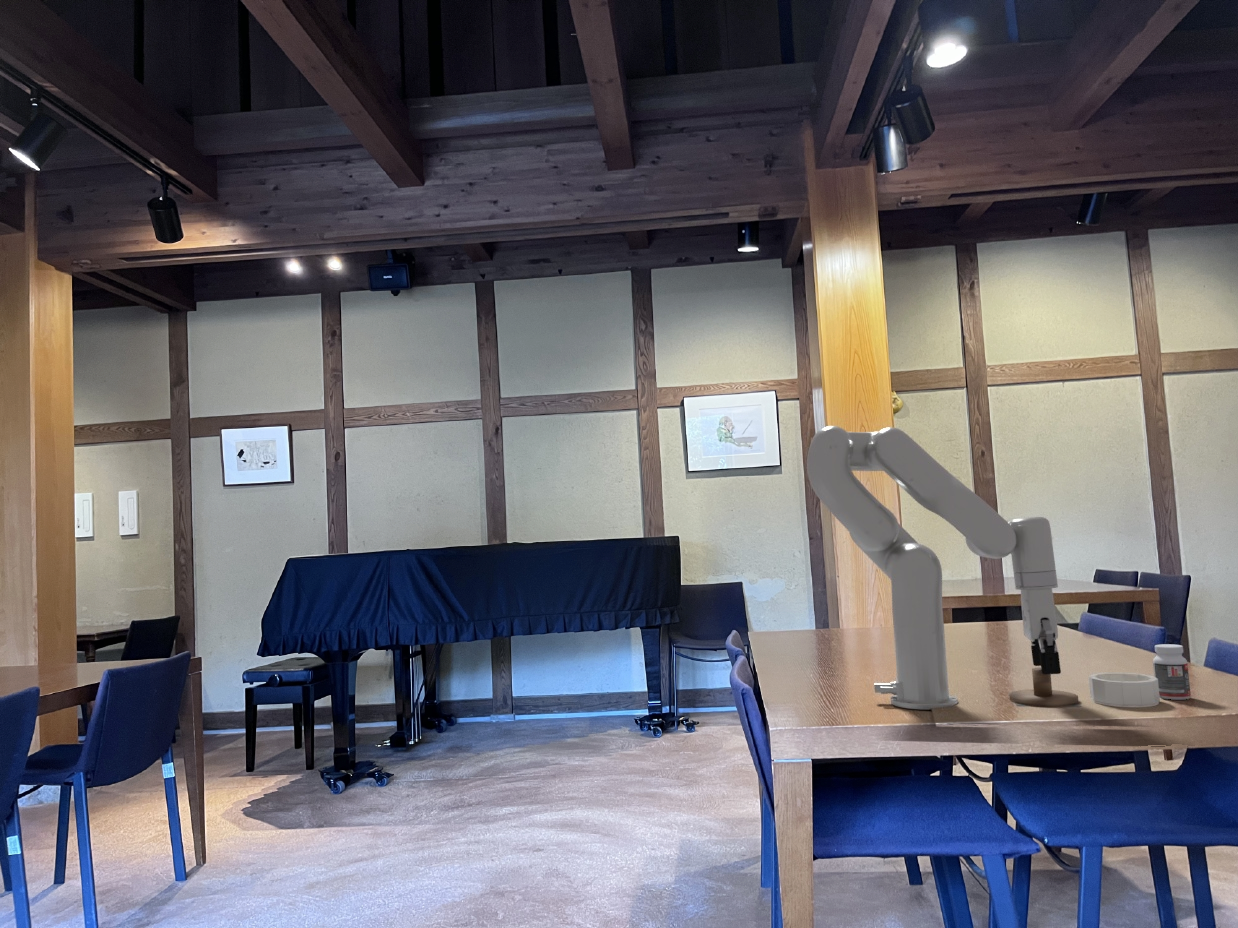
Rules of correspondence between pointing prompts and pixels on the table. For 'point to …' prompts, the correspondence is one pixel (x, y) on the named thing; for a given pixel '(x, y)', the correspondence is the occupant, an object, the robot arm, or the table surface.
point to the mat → (1060, 706)
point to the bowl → (1124, 689)
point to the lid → (1043, 693)
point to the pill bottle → (1171, 672)
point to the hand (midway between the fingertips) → (1046, 669)
